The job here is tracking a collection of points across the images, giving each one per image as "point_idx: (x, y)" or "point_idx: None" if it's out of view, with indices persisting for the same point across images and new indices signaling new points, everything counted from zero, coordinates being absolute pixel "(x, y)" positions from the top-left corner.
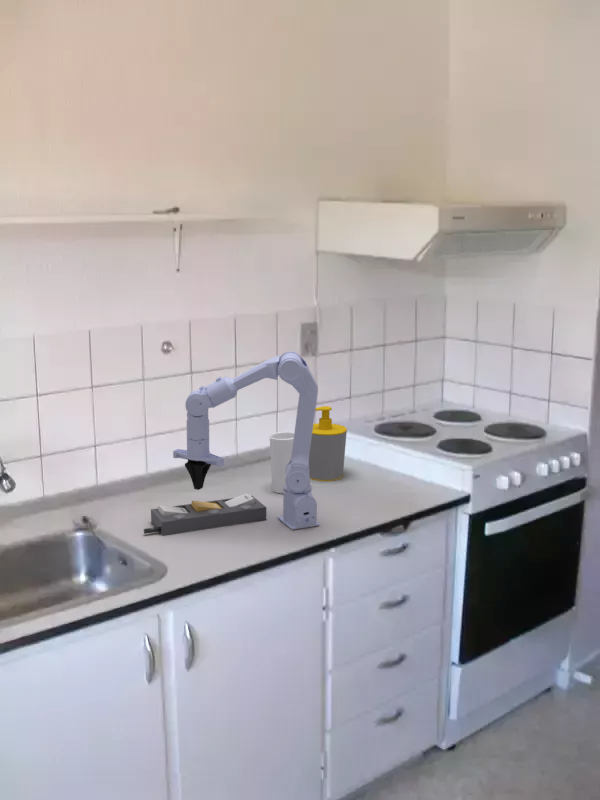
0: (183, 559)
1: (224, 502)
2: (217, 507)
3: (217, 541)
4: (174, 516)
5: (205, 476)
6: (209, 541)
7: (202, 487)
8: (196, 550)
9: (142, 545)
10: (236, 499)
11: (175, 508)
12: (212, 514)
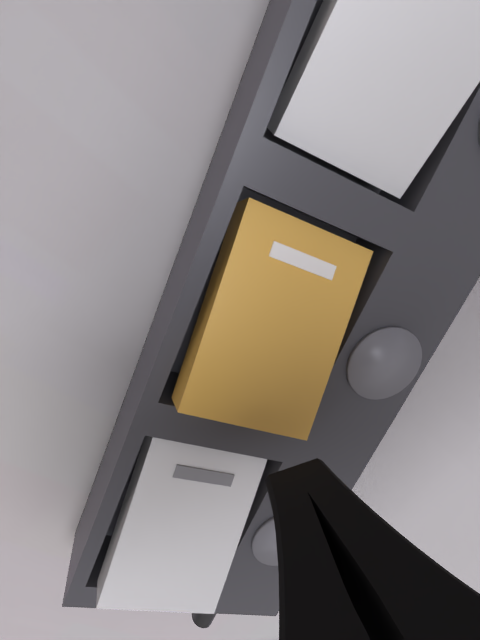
0: (461, 569)
1: (288, 134)
2: (339, 276)
3: (474, 421)
4: (269, 559)
5: (427, 557)
6: (447, 444)
7: (325, 466)
8: (455, 515)
9: (276, 626)
10: (378, 33)
11: (166, 510)
12: (406, 388)
